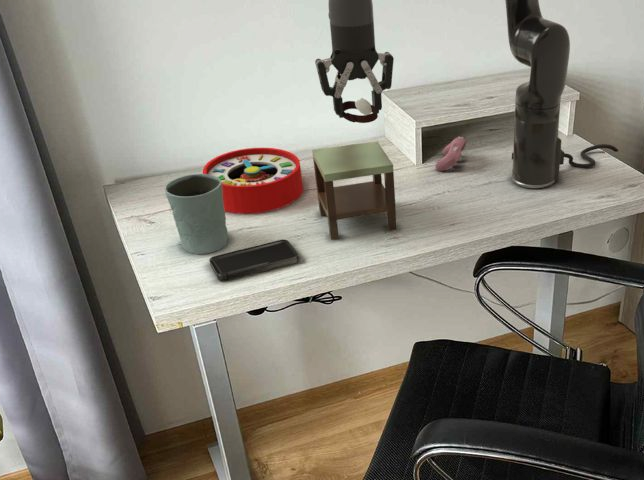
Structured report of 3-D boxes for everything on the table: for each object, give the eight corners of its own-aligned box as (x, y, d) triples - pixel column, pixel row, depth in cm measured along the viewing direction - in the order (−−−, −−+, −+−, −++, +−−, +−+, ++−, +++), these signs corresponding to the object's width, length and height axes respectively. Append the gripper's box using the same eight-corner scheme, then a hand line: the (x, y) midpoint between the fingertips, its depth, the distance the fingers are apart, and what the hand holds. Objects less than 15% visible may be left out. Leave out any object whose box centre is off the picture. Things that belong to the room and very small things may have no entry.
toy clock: (216, 195, 159) (192, 158, 173) (221, 221, 162) (197, 183, 177) (313, 174, 166) (283, 141, 181) (316, 200, 170) (286, 165, 184)
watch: (383, 118, 150) (382, 99, 148) (368, 127, 147) (367, 107, 145) (349, 111, 153) (348, 92, 151) (334, 119, 150) (332, 99, 148)
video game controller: (451, 179, 181) (465, 153, 177) (433, 169, 180) (446, 143, 176) (459, 161, 189) (473, 136, 184) (442, 152, 188) (455, 126, 184)
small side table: (381, 203, 168) (377, 141, 160) (396, 229, 159) (393, 164, 151) (319, 212, 165) (312, 149, 157) (331, 240, 156) (324, 174, 148)
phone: (207, 257, 149) (286, 238, 154) (208, 263, 149) (287, 243, 155) (219, 277, 143) (300, 256, 148) (220, 282, 144) (301, 261, 149)
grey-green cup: (182, 260, 150) (168, 200, 143) (174, 236, 158) (160, 178, 151) (237, 248, 154) (226, 190, 146) (227, 225, 161) (215, 169, 154)
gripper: (314, 28, 135) (323, 126, 145) (397, 20, 139) (401, 116, 148) (306, 17, 141) (316, 112, 151) (386, 9, 144) (391, 103, 154)
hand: (358, 114), depth 149 cm, fingers closed on watch, 6 cm apart
